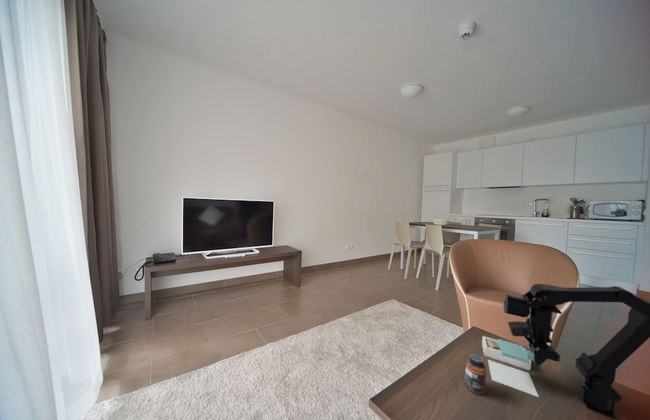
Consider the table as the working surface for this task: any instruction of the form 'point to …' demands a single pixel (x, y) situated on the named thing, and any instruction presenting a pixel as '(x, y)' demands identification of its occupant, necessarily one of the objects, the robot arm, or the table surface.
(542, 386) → the table surface
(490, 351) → the tub
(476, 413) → the table surface
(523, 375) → the mat
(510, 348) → the lid
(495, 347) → the cube
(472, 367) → the supplement bottle
